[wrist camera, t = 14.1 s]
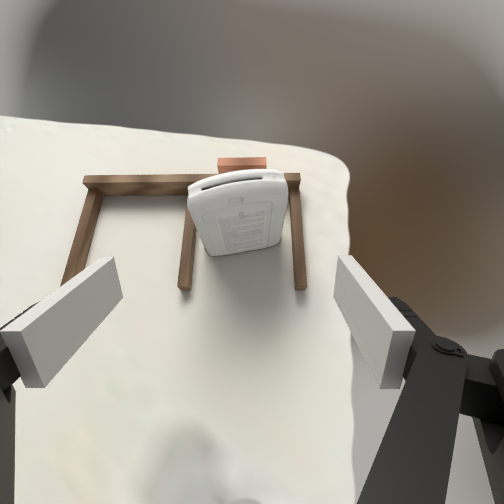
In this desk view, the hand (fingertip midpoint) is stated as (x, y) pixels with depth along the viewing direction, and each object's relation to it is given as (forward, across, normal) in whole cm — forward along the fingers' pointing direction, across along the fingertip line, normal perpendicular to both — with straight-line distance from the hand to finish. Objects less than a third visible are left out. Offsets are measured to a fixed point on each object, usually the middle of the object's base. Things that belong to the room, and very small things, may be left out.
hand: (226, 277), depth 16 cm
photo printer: (+19, 0, -4) cm, 20 cm away
